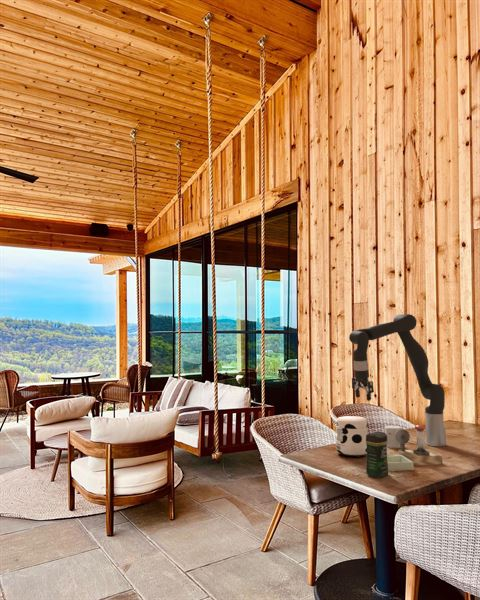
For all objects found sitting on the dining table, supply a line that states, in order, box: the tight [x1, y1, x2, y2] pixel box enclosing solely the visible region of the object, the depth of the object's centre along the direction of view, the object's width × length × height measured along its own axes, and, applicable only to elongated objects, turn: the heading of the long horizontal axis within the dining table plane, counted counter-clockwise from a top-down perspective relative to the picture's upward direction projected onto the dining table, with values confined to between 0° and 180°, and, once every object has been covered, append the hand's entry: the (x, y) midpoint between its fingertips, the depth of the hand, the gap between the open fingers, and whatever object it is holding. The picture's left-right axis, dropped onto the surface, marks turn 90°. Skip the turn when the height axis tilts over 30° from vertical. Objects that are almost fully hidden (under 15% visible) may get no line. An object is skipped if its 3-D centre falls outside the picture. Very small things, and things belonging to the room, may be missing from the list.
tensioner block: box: [395, 428, 443, 466], centre depth 221 cm, size 18×12×14 cm, turn 96°
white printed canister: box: [335, 415, 369, 458], centre depth 235 cm, size 17×17×18 cm
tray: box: [387, 454, 415, 472], centre depth 213 cm, size 12×12×3 cm
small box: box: [384, 425, 402, 449], centre depth 249 cm, size 8×6×10 cm
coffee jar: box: [365, 430, 389, 479], centre depth 201 cm, size 10×8×19 cm
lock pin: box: [414, 424, 426, 452], centre depth 219 cm, size 5×5×13 cm
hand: (363, 398), depth 241 cm, fingers open, 8 cm apart
